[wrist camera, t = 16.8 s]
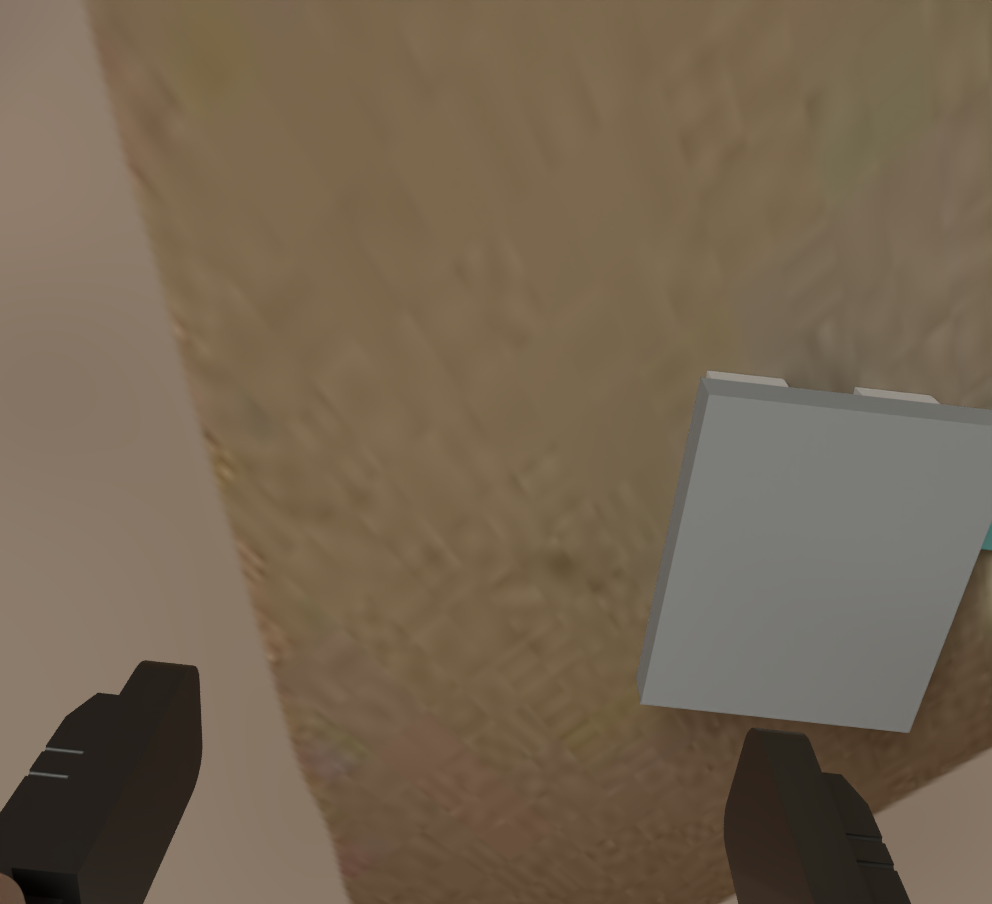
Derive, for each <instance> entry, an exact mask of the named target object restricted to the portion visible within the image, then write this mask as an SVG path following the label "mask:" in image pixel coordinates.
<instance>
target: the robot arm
mask: <svg viewBox="0 0 992 904" xmlns="http://www.w3.org/2000/svg"><path fill="white" fill-rule="evenodd" d="M201 757H202V726H201V704H200V681H199V673H198V669H197V668H196V666H192V665H183V664H174V663H164V662H155V661H146V660H145V661H142V662H141V663H140V664H139V665H138V666H137V668H136V669H135V670H134V672H133V674H132V675H131V677H130V678H129V680H128V681H127V683H126V685H125V686H124V688H123V689H122V691H121V693H120V694H119V695H113V694H104V693H97V694H96V695H94V696H93V697H92V698H90V699H89V700H87V701H86V702H85V703H84V704H82V705H81V706H79V707H78V708H77V709H75V710H74V711H73V712H71V713H70V714H69V715H67V716H66V717H65V719H64V720H63V721H62V723H61V724H60V726H59V727H58V729H57V730H56V732H55V733H54V735H53V736H52V738H51V739H50V741H49V742H48V743H47V745H46V750H45V751H44V752H41V754H40V755H39V757H38V758H37V760H36V761H35V762H34V764H33V765H32V767H31V768H30V772H29V775H28V776H25V777H24V779H23V780H22V782H21V783H20V784H19V786H18V787H17V789H16V790H15V792H14V793H13V795H12V796H11V798H10V799H9V801H8V802H7V804H6V805H5V807H4V808H3V809H2V811H1V812H0V904H143V902H144V900H145V898H146V896H147V894H148V891H149V889H150V887H151V884H152V882H153V880H154V878H155V875H156V873H157V871H158V869H159V867H160V864H161V862H162V860H163V858H164V855H165V853H166V851H167V849H168V846H169V844H170V842H171V840H172V838H173V835H174V833H175V831H176V829H177V826H178V824H179V822H180V820H181V818H182V815H183V813H184V811H185V808H186V806H187V804H188V802H189V800H190V797H191V795H192V793H193V790H194V788H195V785H196V781H197V778H198V774H199V770H200V765H201ZM724 841H725V848H726V853H727V858H728V862H729V866H730V870H731V874H732V879H733V883H734V887H735V891H736V896H737V900H738V904H911V903H910V900H909V898H908V896H907V893H906V891H905V888H904V886H903V884H902V882H901V879H900V877H899V875H898V872H897V871H894V868H893V865H894V863H893V861H892V859H891V856H890V854H889V852H888V849H887V847H886V845H885V844H884V843H882V836H881V833H880V831H879V829H878V826H877V824H876V822H875V819H874V817H873V815H872V813H871V810H870V808H869V806H868V804H867V803H866V802H865V801H864V799H863V798H862V797H861V796H860V795H859V794H858V793H857V792H856V790H855V789H854V788H853V787H852V786H851V785H850V784H849V783H848V782H847V780H846V779H845V778H844V777H843V776H842V775H841V774H832V773H822V772H821V769H820V766H819V764H818V761H817V759H816V756H815V754H814V751H813V748H812V746H811V743H810V741H809V739H808V738H807V736H806V735H805V734H803V733H797V732H787V731H778V730H769V729H760V728H751V729H750V730H749V731H748V733H747V735H746V738H745V741H744V744H743V748H742V751H741V755H740V758H739V762H738V765H737V769H736V772H735V775H734V779H733V782H732V786H731V789H730V793H729V796H728V800H727V803H726V808H725V815H724Z"/></svg>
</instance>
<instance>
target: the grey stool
mask: <svg viewBox="0 0 992 904" xmlns="http://www.w3.org/2000/svg"><path fill="white" fill-rule="evenodd" d="M991 521H992V410H988V409H979V408H970V407H962V406H953V405H944V404H940V403H938V402H937V401H936V400H935V399H934V398H933V397H932V396H931V395H922V394H913V393H904V392H895V391H886V390H877V389H868V388H859V387H855V389H854V392H853V394H845V393H836V392H828V391H819V390H810V389H801V388H792V387H789V386H788V385H787V383H786V382H785V381H784V379H779V378H770V377H761V376H752V375H743V374H734V373H725V372H716V371H708V370H707V374H706V378H702V377H701V378H700V383H699V387H698V392H697V397H696V401H695V406H694V411H693V415H692V420H691V425H690V429H689V434H688V439H687V443H686V448H685V453H684V457H683V462H682V467H681V471H680V476H679V481H678V485H677V490H676V495H675V499H674V504H673V509H672V513H671V518H670V523H669V527H668V532H667V537H666V541H665V546H664V550H663V555H662V560H661V564H660V569H659V574H658V578H657V583H656V588H655V592H654V597H653V602H652V606H651V611H650V616H649V620H648V625H647V630H646V634H645V639H644V644H643V648H642V653H641V658H640V662H639V667H638V672H637V676H636V678H637V684H638V690H639V697H640V703H641V704H645V705H654V706H663V707H673V708H682V709H691V710H700V711H710V712H719V713H728V714H737V715H747V716H756V717H765V718H775V719H784V720H793V721H802V722H812V723H821V724H830V725H839V726H849V727H858V728H867V729H877V730H886V731H895V732H904V733H909V732H910V729H911V727H912V724H913V722H914V719H915V716H916V714H917V711H918V709H919V706H920V704H921V701H922V698H923V696H924V693H925V691H926V688H927V686H928V683H929V681H930V678H931V675H932V673H933V670H934V668H935V665H936V663H937V660H938V657H939V655H940V652H941V650H942V647H943V645H944V642H945V639H946V637H947V634H948V632H949V629H950V627H951V624H952V621H953V619H954V616H955V614H956V611H957V609H958V606H959V603H960V601H961V598H962V596H963V593H964V591H965V588H966V586H967V583H968V580H969V578H970V575H971V573H972V570H973V568H974V565H975V562H976V560H977V557H978V555H979V552H980V550H981V547H982V544H983V542H984V539H985V537H986V534H987V532H988V529H989V526H990V524H991Z"/></svg>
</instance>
